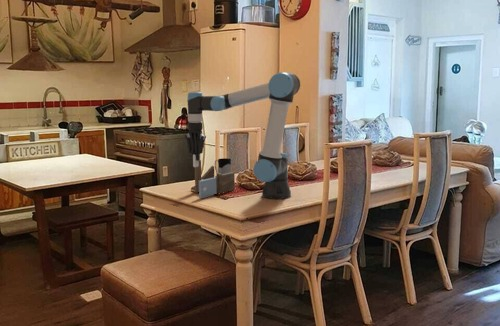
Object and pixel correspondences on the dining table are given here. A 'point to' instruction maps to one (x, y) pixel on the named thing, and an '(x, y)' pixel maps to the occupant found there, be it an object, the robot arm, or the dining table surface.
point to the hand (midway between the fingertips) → (195, 166)
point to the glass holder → (223, 166)
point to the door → (207, 187)
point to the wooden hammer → (198, 178)
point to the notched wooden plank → (225, 182)
